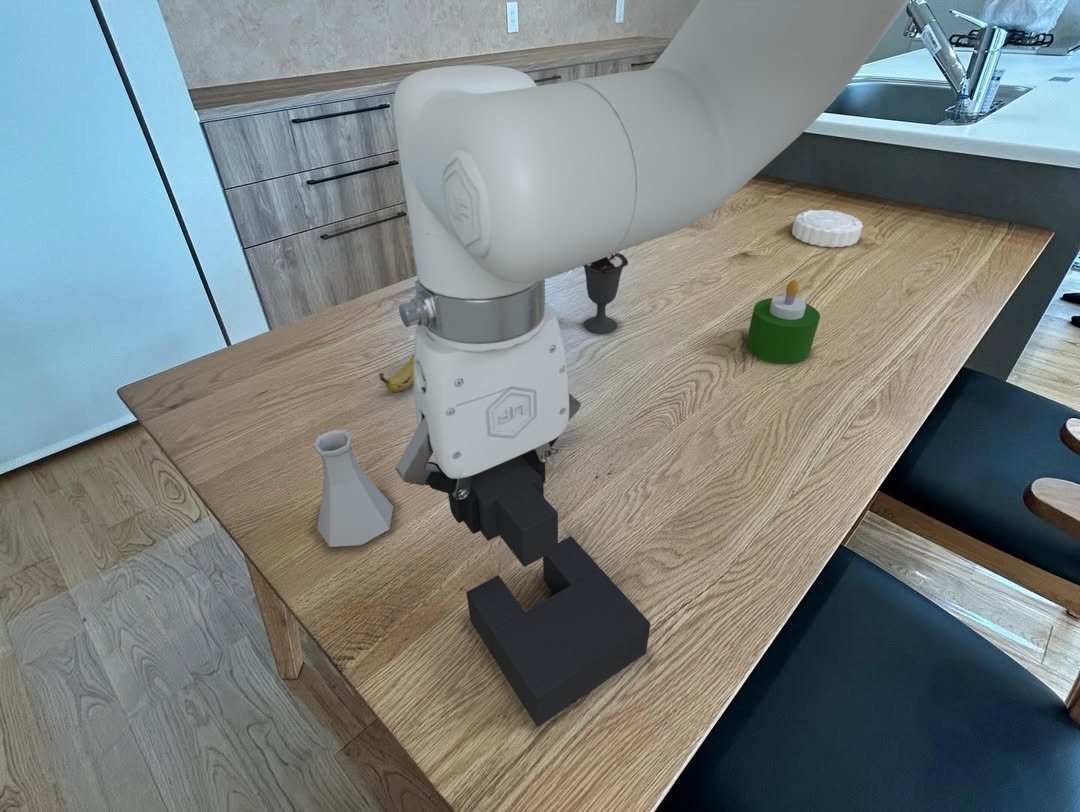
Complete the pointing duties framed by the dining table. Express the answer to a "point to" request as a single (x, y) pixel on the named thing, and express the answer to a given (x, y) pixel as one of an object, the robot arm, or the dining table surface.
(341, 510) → the flask
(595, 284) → the sundae
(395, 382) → the banana
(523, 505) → the pad
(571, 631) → the notch pad
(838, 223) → the mooncake
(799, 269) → the dining table surface
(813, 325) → the candle
